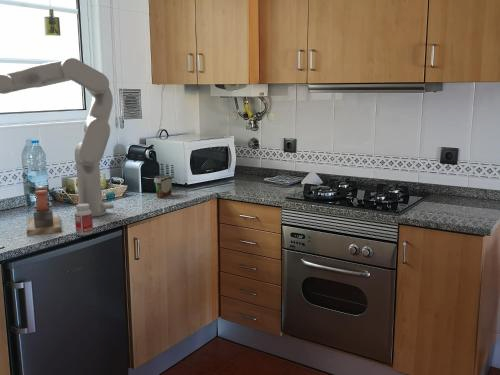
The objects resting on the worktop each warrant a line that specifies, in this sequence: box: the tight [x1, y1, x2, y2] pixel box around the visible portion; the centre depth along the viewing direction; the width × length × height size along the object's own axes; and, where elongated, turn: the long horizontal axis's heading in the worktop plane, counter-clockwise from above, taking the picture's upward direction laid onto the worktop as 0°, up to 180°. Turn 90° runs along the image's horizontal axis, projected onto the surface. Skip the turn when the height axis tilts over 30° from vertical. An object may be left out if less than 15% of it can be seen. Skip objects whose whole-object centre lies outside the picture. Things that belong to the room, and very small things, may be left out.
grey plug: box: [34, 185, 48, 205], centre depth 213 cm, size 4×4×9 cm
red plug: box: [34, 189, 48, 212], centre depth 203 cm, size 4×4×9 cm
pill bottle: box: [74, 203, 94, 236], centre depth 198 cm, size 6×6×11 cm
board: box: [26, 201, 63, 236], centre depth 210 cm, size 12×22×8 cm, turn 21°
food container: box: [153, 174, 173, 200], centre depth 266 cm, size 12×6×10 cm, turn 161°
